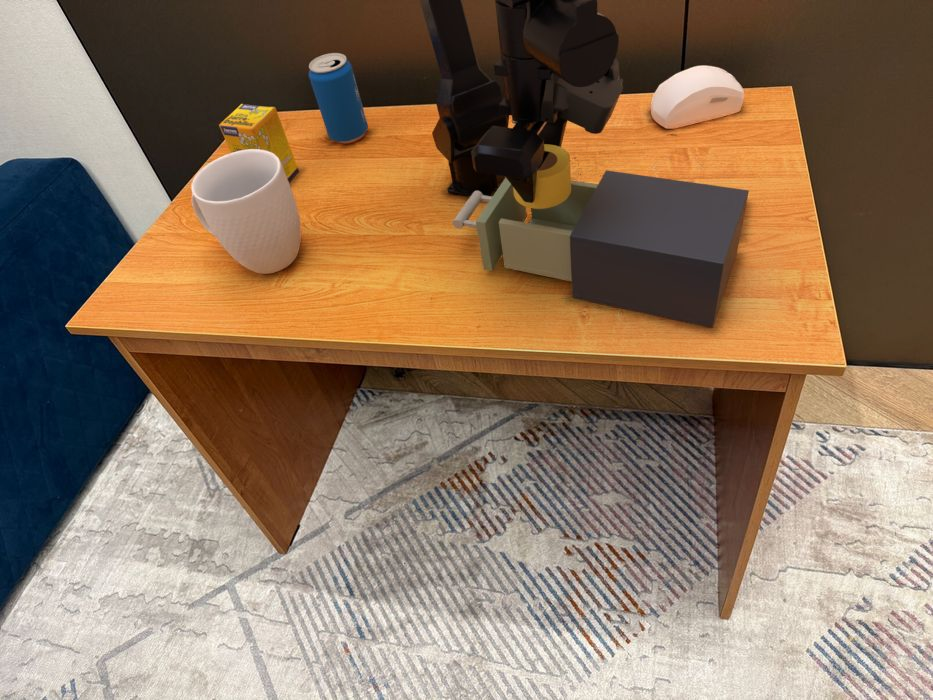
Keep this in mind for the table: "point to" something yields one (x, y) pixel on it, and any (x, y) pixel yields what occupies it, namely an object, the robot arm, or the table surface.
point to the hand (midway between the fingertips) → (540, 183)
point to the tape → (551, 180)
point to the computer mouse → (696, 97)
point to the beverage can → (338, 97)
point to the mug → (249, 209)
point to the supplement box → (259, 134)
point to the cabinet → (657, 246)
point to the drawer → (526, 230)
